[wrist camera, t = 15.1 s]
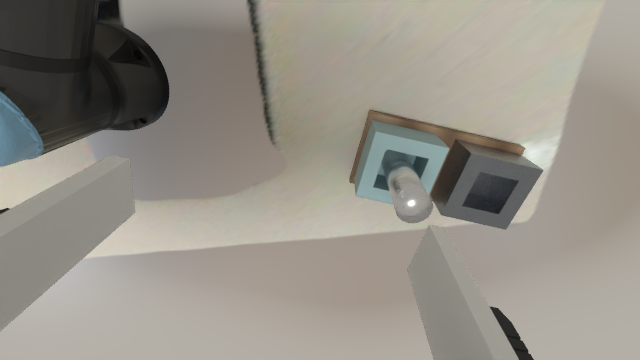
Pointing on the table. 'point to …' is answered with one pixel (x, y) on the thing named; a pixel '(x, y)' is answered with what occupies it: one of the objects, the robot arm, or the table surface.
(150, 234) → the table surface
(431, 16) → the table surface
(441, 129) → the tool board
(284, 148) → the table surface
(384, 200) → the teal square holder
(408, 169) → the translucent peg
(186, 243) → the table surface
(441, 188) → the socket block
